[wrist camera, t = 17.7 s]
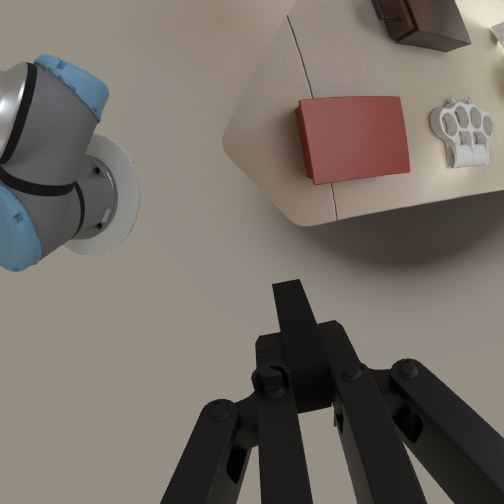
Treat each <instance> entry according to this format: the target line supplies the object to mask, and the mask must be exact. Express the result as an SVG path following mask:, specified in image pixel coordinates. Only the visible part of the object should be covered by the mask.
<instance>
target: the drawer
mask: <svg viewBox="0 0 504 504" xmlns="http://www.w3.org/2000/svg"><path fill="white" fill-rule="evenodd" d="M371 1H372V4H373V6H374V9H375V11H376V14H377V17H378V19H379V20H386V22H387V25H388V28H389V31H390V34H391V37H392V39H398V38H400V37H401V36H403V35H405V34H406V33H408V32H410V31H412V30H413V29H415V28H416V27H415V24H414V21H413V19H412V16H411V13H410V11H409V8H408V6H407V4H406V1H405V0H371Z"/></svg>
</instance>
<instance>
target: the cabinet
mask: <svg viewBox="0 0 504 504" xmlns="http://www.w3.org/2000/svg"><path fill="white" fill-rule="evenodd" d="M405 1H406V4H407V6H408V8H409V11H410V13H411V16H412V19H413V21H414V24H415V27H416V28H415V29H413V30H412V31H410V32H408V33H406V34H405V35H403V36H401V37H400V38H398V39H395V41H396V43H398V44H405V45H412V46H418V47H424V48H429V49H434V50H439V51H444V52H448V51H451V50H454V49H457V48H460V47H463V46H467V45H470V44H471V41H470V38H469V36H468V33H467V30H466V27H465V25H464V22H463V20H462V17H461V15H460V12H459V10H458V8H457V5H456V3H455V1H454V0H405Z"/></svg>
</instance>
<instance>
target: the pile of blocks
mask: <svg viewBox="0 0 504 504" xmlns="http://www.w3.org/2000/svg"><path fill="white" fill-rule="evenodd" d="M491 28H492V30H493V32H494V33H495V35H496V37H497V40H498V41H499V42H500V44H501V45H502V46H503V48H504V22H503V23H500V24H497V25H495V26H492V27H491Z"/></svg>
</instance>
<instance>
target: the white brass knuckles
mask: <svg viewBox="0 0 504 504" xmlns="http://www.w3.org/2000/svg"><path fill="white" fill-rule="evenodd" d="M455 110H456V112H457V115H458V117H459V124H458V122H457V119H456V116H455ZM470 113H471V117H472V123H471V121H470ZM442 117H444V119H445V121H446V124H447V133H446V132H445V130H444V127H443V124H442ZM430 124H431V128H432V130H433V132H434V133H435V134H436V135H437V136H438V137H439V138H441V139H443V141H444V142H445V144H446V151H447V159H448V163H449V166H450V167H451V168H458V167H467V166H476V165H487V164H488V162H489V146H488V143H489V139H490V138H491V137H492V136H493V134H494V121H493V118H492V116H491V115H490V113H489V112H488V111H482V110H480V109H479V107H478V106H477V105H475V104H473V103H472V102H471V100H470V98H468V100H467V102H466V103H462V102H461V101H459V102H456V101H455V100H454V99H453V97H452V96H451V95H450V103H449V104H446V106H445V107H444V108H436V109H434V110H433V111H432V113H431V115H430ZM459 132H460V133H461V138H462V145H458V144H457V142H456V137H457V136H458V134H459ZM473 132H474V134H475V135H476V137H477V144H474V139H473Z"/></svg>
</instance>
